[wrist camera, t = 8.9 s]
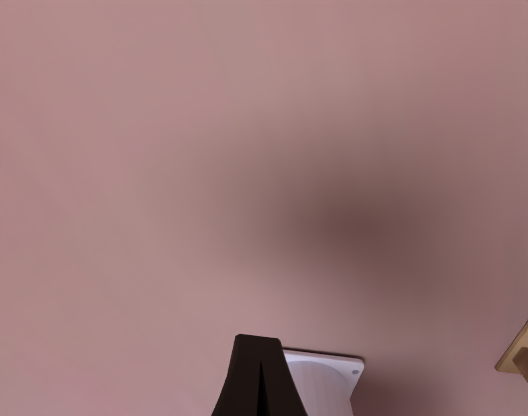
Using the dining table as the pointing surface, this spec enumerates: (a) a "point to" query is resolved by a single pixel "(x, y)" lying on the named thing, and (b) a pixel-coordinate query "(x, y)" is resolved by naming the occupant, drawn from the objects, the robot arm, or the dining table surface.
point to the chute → (516, 356)
